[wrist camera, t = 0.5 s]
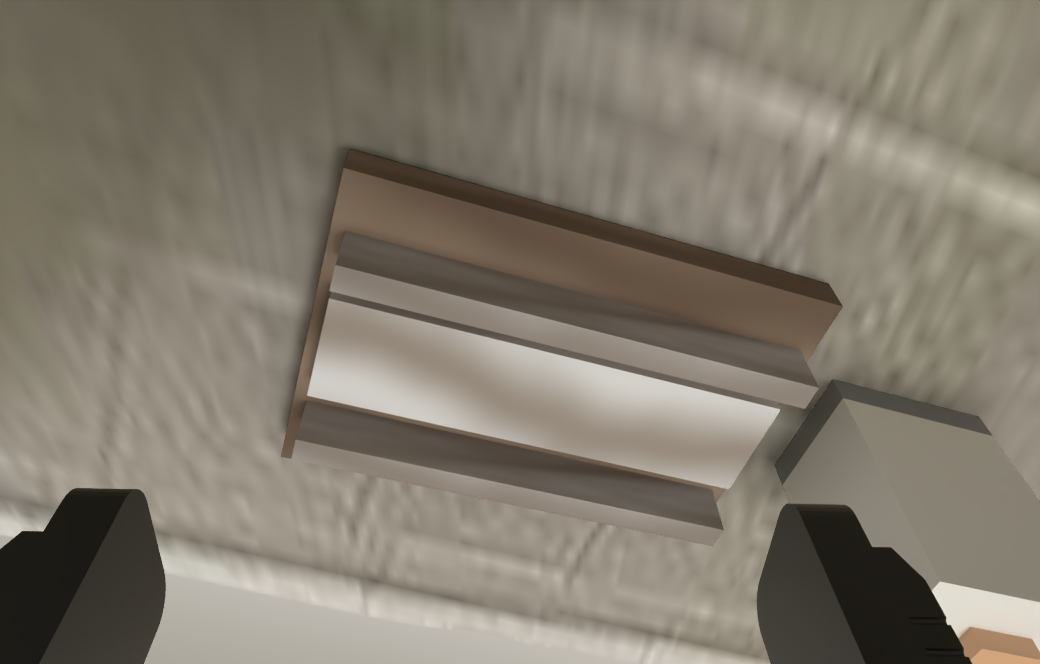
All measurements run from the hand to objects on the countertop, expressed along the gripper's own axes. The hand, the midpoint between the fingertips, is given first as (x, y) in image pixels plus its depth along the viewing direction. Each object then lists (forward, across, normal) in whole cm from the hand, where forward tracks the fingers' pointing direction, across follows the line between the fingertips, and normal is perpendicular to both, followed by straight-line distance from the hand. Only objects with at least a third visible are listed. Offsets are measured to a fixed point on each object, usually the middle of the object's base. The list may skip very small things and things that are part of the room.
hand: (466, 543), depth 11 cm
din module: (+20, -17, +14) cm, 30 cm away
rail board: (+20, -3, +10) cm, 22 cm away
